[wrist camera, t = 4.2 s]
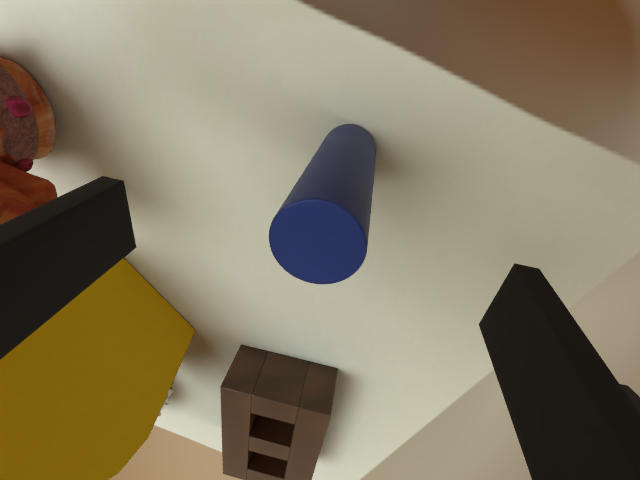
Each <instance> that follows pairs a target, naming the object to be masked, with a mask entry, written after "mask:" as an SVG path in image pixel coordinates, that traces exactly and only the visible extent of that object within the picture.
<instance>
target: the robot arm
mask: <svg viewBox="0 0 640 480" xmlns="http://www.w3.org/2000/svg"><path fill="white" fill-rule="evenodd" d="M135 248H136V244H135V238H134V233H133V228H132V222H131V217H130V212H129V206H128V201H127V196H126V190H125V185H124V181H123V180H118V179H113V178H109V177H104V176H102V177H100V178H98V179H96V180H94V181H92V182H89V183H87V184H85V185H83V186H81V187H79V188H77V189H75V190H73V191H70V192H68V193H66V194H64V195H62V196H60V197H58V198H56V199H54V200H51V201H49V202H47V203H45V204H43V205H41V206H39V207H37V208H35V209H32V210H30V211H28V212H26V213H24V214H22V215H20V216H18V217H16V218H13V219H11V220H9V221H7V222H5V223H3V224H1V225H0V360H1V359H2V358H3V357H4V356H6V355H7V354H8V353H9V352H10V351H12V350H13V349H14V348H15V347H16V346H18V345H19V344H20V343H21V342H22V341H24V340H25V339H26V338H27V337H28V336H30V335H31V334H32V333H33V332H35V331H36V330H37V329H38V328H39V327H41V326H42V325H43V324H44V323H45V322H47V321H48V320H49V319H50V318H51V317H53V316H54V315H55V314H56V313H57V312H59V311H60V310H61V309H62V308H64V307H65V306H66V305H67V304H68V303H70V302H71V301H72V300H73V299H74V298H76V297H77V296H78V295H79V294H80V293H82V292H83V291H84V290H85V289H86V288H88V287H89V286H90V285H91V284H93V283H94V282H95V281H96V280H97V279H99V278H100V277H101V276H102V275H103V274H105V273H106V272H107V271H108V270H109V269H111V268H112V267H113V266H114V265H115V264H117V263H118V262H119V261H120V260H122V259H123V258H124V257H125V256H126V255H128V254H129V253H130V252H131V251H132V250H134V249H135ZM479 326H480V329H481V332H482V335H483V338H484V341H485V344H486V347H487V349H488V352H489V355H490V358H491V361H492V364H493V367H494V370H495V373H496V375H497V379H498V381H499V384H500V387H501V390H502V393H503V396H504V399H505V402H506V405H507V408H508V411H509V413H510V416H511V419H512V422H513V425H514V428H515V431H516V434H517V437H518V439H519V443H520V445H521V448H522V451H523V454H524V457H525V460H526V463H527V466H528V469H529V472H530V475H531V477H532V480H640V397H639V396H638V395H637V394H636V393H635V392H634V391H633V390H632V389H631V388H630V387H628V386H626V385H621V384H619V383H618V382H617V380H616V379H615V377H614V376H613V374H612V373H611V371H610V370H609V369H608V367H607V366H606V364H605V363H604V362H603V360H602V358H601V357H600V356H599V354H598V353H597V351H596V350H595V348H594V347H593V346H592V344H591V343H590V341H589V340H588V338H587V337H586V336H585V334H584V333H583V331H582V330H581V328H580V327H579V325H578V324H577V323H576V321H575V320H574V318H573V317H572V315H571V314H570V312H569V311H568V310H567V308H566V307H565V305H564V304H563V302H562V301H561V300H560V298H559V297H558V295H557V294H556V292H555V291H554V289H553V288H552V287H551V285H550V284H549V282H548V281H547V279H546V278H545V277H544V275H543V274H542V272H541V271H540V269H538V268H533V267H528V266H524V265H519V264H514V265H513V267H512V269H511V270H510V272H509V274H508V275H507V277H506V279H505V280H504V282H503V284H502V286H501V287H500V289H499V291H498V292H497V294H496V296H495V298H494V299H493V301H492V303H491V304H490V306H489V308H488V310H487V311H486V313H485V315H484V316H483V318H482V320H481V322H480V323H479Z"/></svg>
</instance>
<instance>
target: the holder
mask: <svg viewBox="0 0 640 480" xmlns="http://www.w3.org/2000/svg"><path fill="white" fill-rule="evenodd" d="M337 370H338V369H336V368H332V367H328V366H324V365H320V364H316V363H312V362H308V361H304V360H300V359H296V358H292V357H288V356H284V355H280V354H276V353H272V352H267V351H263V350H259V349H255V348H251V347H247V346H243V345H241V346H240V348H239V350H238V352H237V354H236V356H235V358H234V360H233V362H232V364H231V366H230V368H229V370H228V373H227V375H226V377H225V379H224V381H223V383H222V385H221V418H222V453H223V474H226V475H229V476H233V477H236V478H240V479H243V480H311V479H312V476H313V473H314V469H315V466H316V463H317V459H318V456H319V453H320V449H321V446H322V443H323V439H324V436H325V433H326V430H327V426H328V423H329V420H330V416H331V410H332V404H333V397H334V390H335V384H336V377H337Z"/></svg>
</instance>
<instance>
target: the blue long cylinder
mask: <svg viewBox="0 0 640 480" xmlns="http://www.w3.org/2000/svg"><path fill="white" fill-rule="evenodd" d="M375 160H376V145H375V142H374V139H373V137H372V136H371V135H370V133H369V132H368V131H367V130H365V129H364V128H362V127H360V126H358V125H354V124H345V125H341V126H338V127H336V128H335V129H333V130H332V131H331V132H330V133H329V134H328V135H327V137H326V138H325V140H324V141H323V143H322V144H321V146H320V147H319V149H318V151H317V152H316V154H315V155H314V157H313V158H312V160H311V161H310V163H309V164H308V166H307V168H306V169H305V171H304V172H303V174H302V175H301V177H300V178H299V180H298V181H297V183H296V185H295V186H294V188H293V189H292V191H291V192H290V194H289V195H288V197H287V199H286V200H285V202H284V203H283V205H282V206H281V208H280V209H279V211H278V212H277V214H276V216H275V217H274V219H273V221H272V223H271V226H270V230H269V242H270V247H271V250H272V253H273V255H274V257H275V259H276V260H277V262H278V263H279V264H280V265H281V266H282V267H283V268H284V269H285V270H286V271H287V272H288V273H290V274H291V275H293V276H294V277H296V278H298V279H300V280H303V281H306V282H309V283H315V284H331V283H336V282H340V281H342V280H345V279H347V278H348V277H350V276H351V275H353V274H354V273H355V272H356V271H357V270H358V269H359V268H360V266H361V265H362V263H363V261H364V259H365V257H366V253H367V245H368V235H369V224H370V213H371V203H372V192H373V182H374V171H375Z"/></svg>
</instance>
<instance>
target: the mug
mask: <svg viewBox="0 0 640 480" xmlns="http://www.w3.org/2000/svg"><path fill="white" fill-rule="evenodd" d="M55 134H56V124H55V118H54V114H53V111H52V107H51V105H50V103H49V101H48V100H47V98H46V96H45V94H44V93H43V91H42V89H41V87H40V85H39V84H38V83H37V82H36V81H35V80H34V78H33V77H32V76H31V75H30V74H29V73H28V72H27V71H26V70H24V69H23V68H22V67H21V66H20V65H18V64H17V63H15V62H13V61H11V60H7V59H4V58H2V57H0V225H1V224H3V223H5V222H7V221H9V220H11V219H13V218H16V217H18V216H20V215H22V214H24V213H26V212H28V211H30V210H32V209H35V208H37V207H39V206H41V205H43V204H45V203H47V202H49V201H51V200H54V199H56V198H57V193H56V189H55V186H54V185H53V184H52V183H51V182H50V181H48V180H47V179H44V178H40V177H37V176H34V175H32V174H29V173H27V171H29V170H30V169H31V168H32V166H33V159H38V158H43V157H45V156H47V155H48V154H49V153H50V152H51V151H52V148H53V146H54V143H55Z"/></svg>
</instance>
